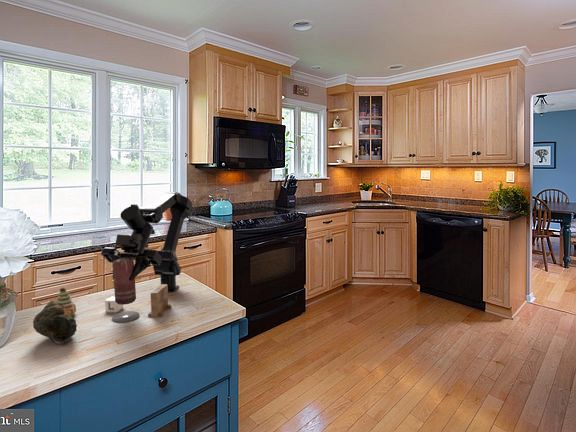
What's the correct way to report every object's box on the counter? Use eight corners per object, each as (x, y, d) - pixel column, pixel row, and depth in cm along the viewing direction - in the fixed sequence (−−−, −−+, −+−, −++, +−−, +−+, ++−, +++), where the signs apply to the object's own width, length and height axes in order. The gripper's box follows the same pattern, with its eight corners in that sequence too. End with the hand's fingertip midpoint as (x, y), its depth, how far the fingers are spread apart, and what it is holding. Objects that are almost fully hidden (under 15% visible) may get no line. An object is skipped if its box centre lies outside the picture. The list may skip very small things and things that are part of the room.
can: (121, 307, 114) (118, 263, 111) (112, 301, 118) (108, 259, 115) (140, 301, 118) (137, 259, 116) (130, 295, 122) (127, 255, 120)
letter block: (111, 307, 127) (111, 296, 126) (123, 307, 126) (122, 296, 126) (105, 312, 123) (104, 300, 122) (117, 312, 122) (116, 300, 122)
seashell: (28, 353, 95) (25, 316, 93) (38, 335, 105) (35, 301, 104) (76, 346, 99) (73, 310, 98) (80, 329, 109) (78, 296, 108)
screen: (159, 306, 128) (158, 284, 127) (171, 306, 127) (171, 284, 126) (147, 316, 119) (146, 292, 118) (161, 317, 118) (160, 293, 117)
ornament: (45, 323, 113) (42, 292, 112) (48, 316, 118) (46, 286, 117) (75, 319, 116) (73, 288, 115) (76, 312, 122) (74, 283, 121)
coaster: (120, 312, 122) (120, 310, 122) (143, 312, 122) (143, 311, 122) (106, 322, 114) (106, 320, 114) (131, 322, 114) (131, 321, 114)
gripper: (102, 223, 120) (80, 265, 110) (155, 225, 117) (138, 268, 107) (118, 241, 128) (99, 282, 119) (168, 244, 125) (153, 285, 116)
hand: (121, 279), depth 115 cm, fingers closed on can, 5 cm apart
